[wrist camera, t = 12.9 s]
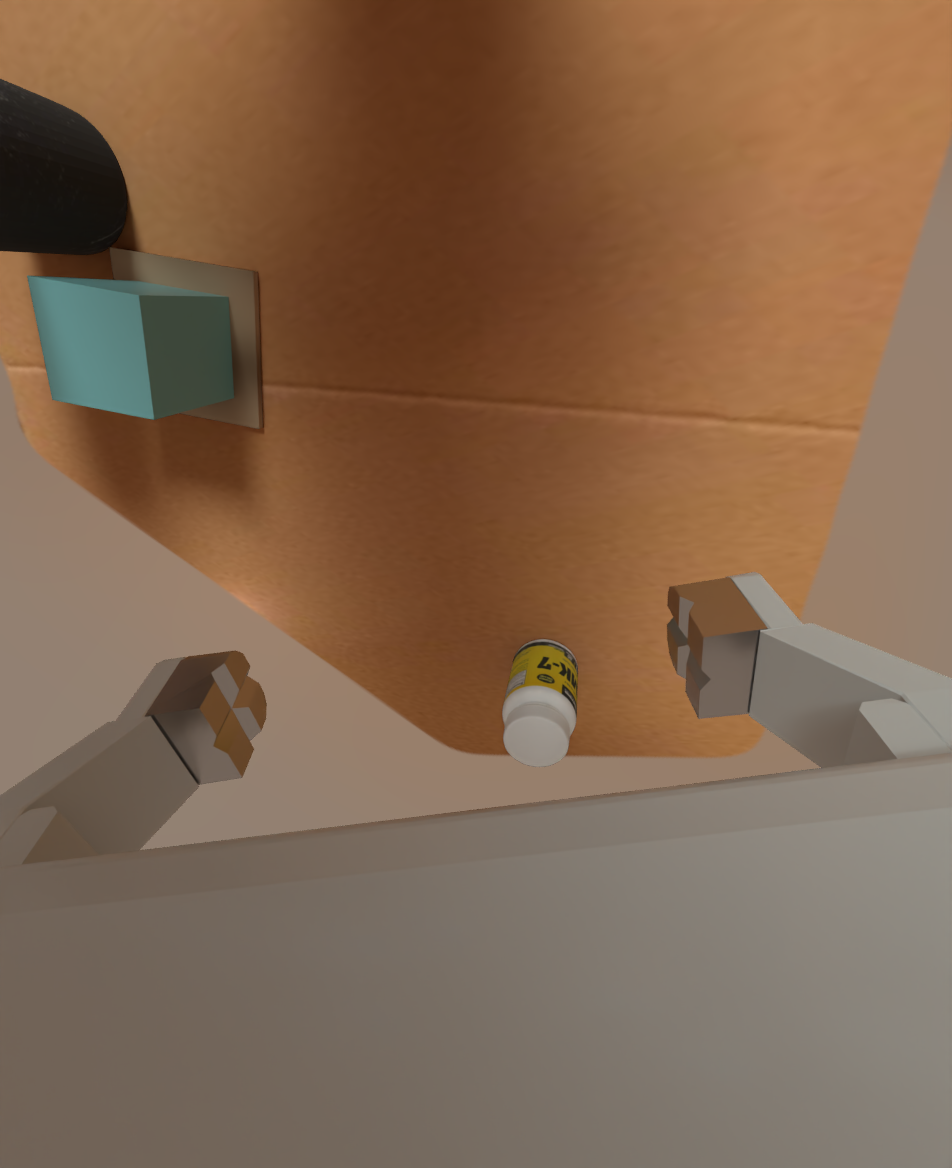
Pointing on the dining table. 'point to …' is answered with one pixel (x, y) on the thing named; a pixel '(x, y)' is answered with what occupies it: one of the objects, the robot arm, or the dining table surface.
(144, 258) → the flat square base
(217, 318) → the teal rectangular block
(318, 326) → the dining table surface
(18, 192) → the travel mug
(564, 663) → the supplement bottle
